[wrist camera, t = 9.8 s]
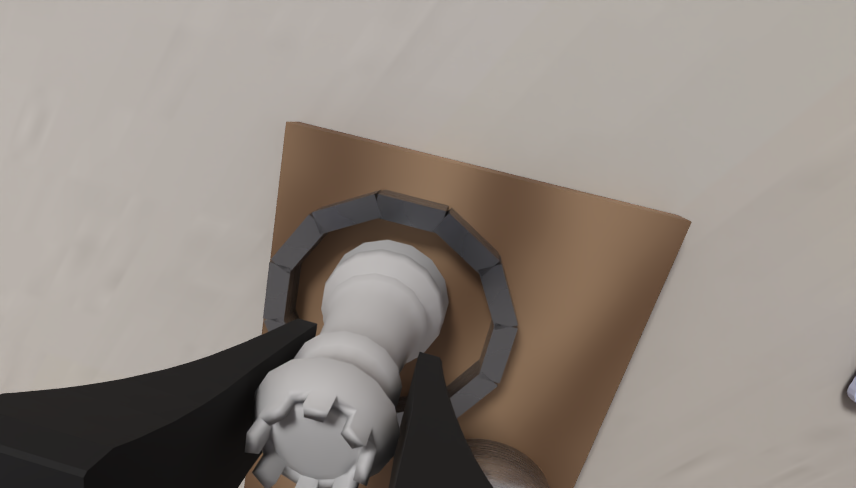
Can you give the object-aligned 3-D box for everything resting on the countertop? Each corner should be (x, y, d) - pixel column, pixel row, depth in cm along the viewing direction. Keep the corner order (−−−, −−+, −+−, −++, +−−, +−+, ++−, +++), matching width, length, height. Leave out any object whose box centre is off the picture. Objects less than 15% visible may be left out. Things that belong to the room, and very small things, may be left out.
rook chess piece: (469, 267, 15) (462, 422, 7) (420, 363, 16) (370, 577, 9) (357, 215, 15) (230, 317, 7) (317, 315, 16) (175, 490, 8)
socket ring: (543, 229, 14) (548, 237, 13) (475, 436, 17) (475, 455, 16) (293, 166, 15) (279, 169, 14) (267, 377, 17) (254, 391, 16)
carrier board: (677, 215, 14) (691, 221, 13) (526, 567, 20) (528, 589, 19) (298, 121, 15) (286, 121, 14) (253, 485, 21) (242, 502, 20)
